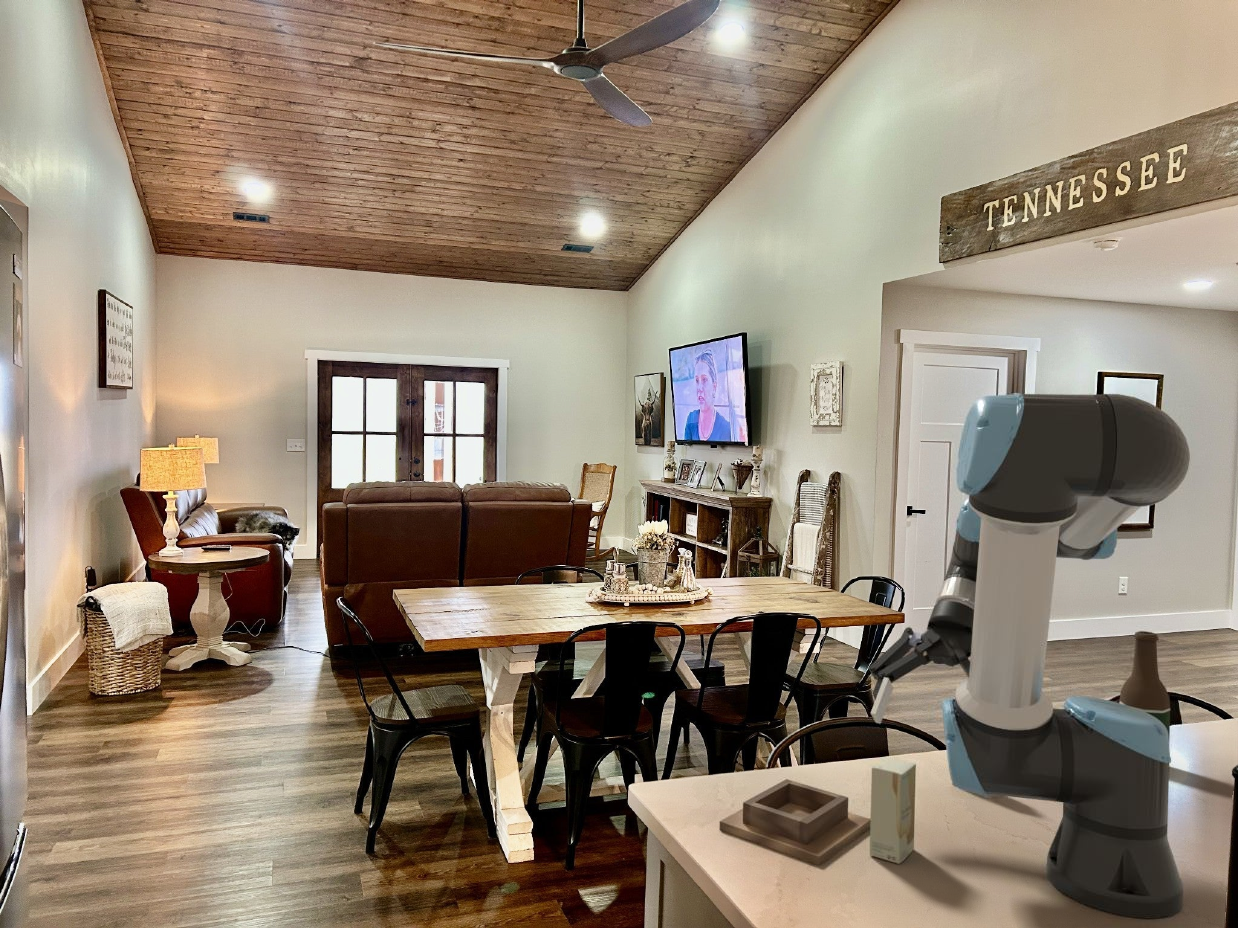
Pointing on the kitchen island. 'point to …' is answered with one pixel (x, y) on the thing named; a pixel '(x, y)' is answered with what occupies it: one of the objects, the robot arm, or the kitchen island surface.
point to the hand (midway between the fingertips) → (919, 728)
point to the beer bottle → (1146, 681)
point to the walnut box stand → (797, 821)
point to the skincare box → (892, 809)
